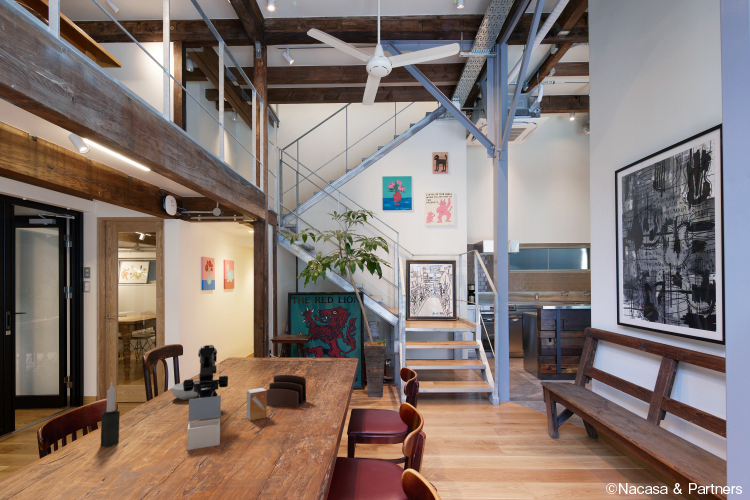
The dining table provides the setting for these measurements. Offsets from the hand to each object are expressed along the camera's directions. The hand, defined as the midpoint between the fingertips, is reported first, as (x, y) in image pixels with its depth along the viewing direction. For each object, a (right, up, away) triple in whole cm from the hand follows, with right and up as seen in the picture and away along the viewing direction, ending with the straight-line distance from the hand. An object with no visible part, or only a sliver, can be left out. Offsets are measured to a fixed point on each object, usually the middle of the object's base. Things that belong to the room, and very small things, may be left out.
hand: (205, 400), depth 173 cm
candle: (-34, -13, -13) cm, 39 cm away
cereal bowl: (-31, -18, +49) cm, 61 cm away
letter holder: (+27, -16, +37) cm, 49 cm away
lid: (+3, 0, -8) cm, 8 cm away
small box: (+18, -15, +16) cm, 28 cm away
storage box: (+5, -13, -13) cm, 19 cm away
